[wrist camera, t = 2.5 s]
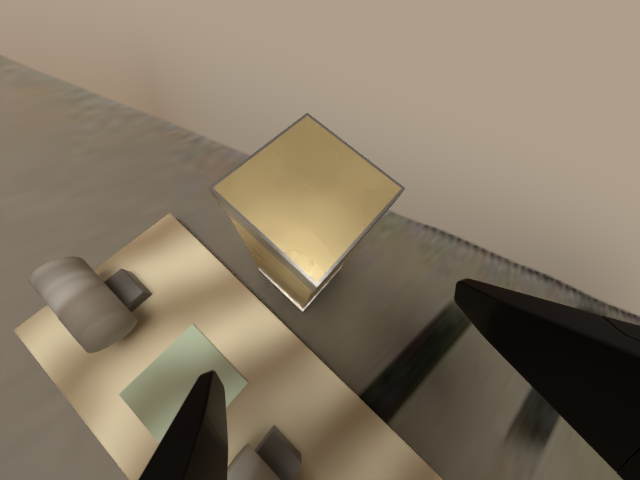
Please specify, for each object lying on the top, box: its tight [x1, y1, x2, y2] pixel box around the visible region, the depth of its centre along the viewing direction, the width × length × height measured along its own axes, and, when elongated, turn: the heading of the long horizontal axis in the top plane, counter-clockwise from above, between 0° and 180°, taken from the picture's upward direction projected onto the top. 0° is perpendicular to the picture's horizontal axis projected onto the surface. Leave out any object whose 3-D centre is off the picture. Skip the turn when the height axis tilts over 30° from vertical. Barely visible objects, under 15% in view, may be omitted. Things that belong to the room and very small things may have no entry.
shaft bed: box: [14, 213, 443, 480], centre depth 14 cm, size 28×12×5 cm, turn 48°
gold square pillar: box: [209, 113, 405, 312], centre depth 14 cm, size 5×5×13 cm
